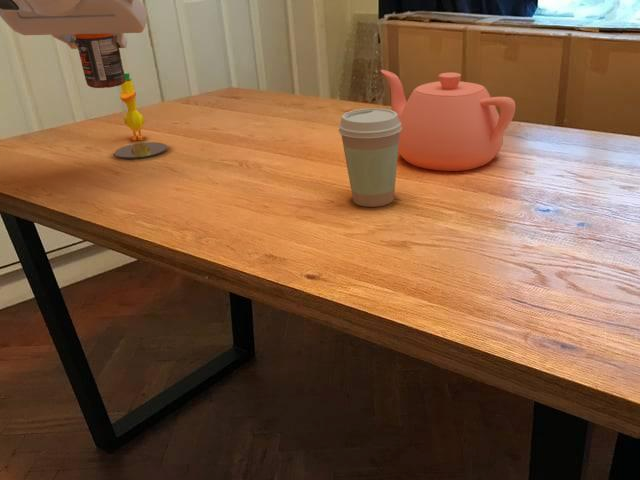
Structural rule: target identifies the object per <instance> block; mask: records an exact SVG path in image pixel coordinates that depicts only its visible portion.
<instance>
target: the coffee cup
mask: <svg viewBox="0 0 640 480" xmlns="http://www.w3.org/2000/svg"><path fill="white" fill-rule="evenodd" d="M338 128H339V129H338V133H339V134H340V136H341V141H342V147H343V151H344V157H345V163H346V167H347V168H346V169H347V174H348V180H349V186H350V190H351V191H350V192H351V197H352V201H353V203H354V204H356V205H357V206H360V207H367V208H377V207H383V206H386V205H389V204H391V203H392V202H394V199H395V191H396V181H397V180H396V179H397V170H398V169H397V168H398V157H399V151H398V146H399V134H400V131H401V130H402V127H401V122H400V121H399V118H398V115H397V113H396V112H394V111H392V110H391V109H387V108H377V107H376V108H374V107H373V108H371V107H370V108H361V109H360V108H359V109H353V110H350V111H347V112H345V113H343V114H342V115H341V119H340V123H339V125H338Z"/></svg>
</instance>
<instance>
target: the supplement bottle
mask: <svg viewBox="0 0 640 480" xmlns="http://www.w3.org/2000/svg"><path fill="white" fill-rule="evenodd" d="M75 38H76V42H77V46H78V49H77V50H78V53H79V58H80V62H81V67H82V71H83V75H84V78H85V79H84V80H85V83H86V85H87V86H88V87H90V88H92V89H93V88H94V89H105V88H108V89H109V88H114V87H119V86H121V85H122V84H123V83H124V82H125V74H126V73H125V71H124V65H123V60H122V56H121V51H120V48H116V47H115V45H113V43H112V38H113V35H112V34H75Z"/></svg>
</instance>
